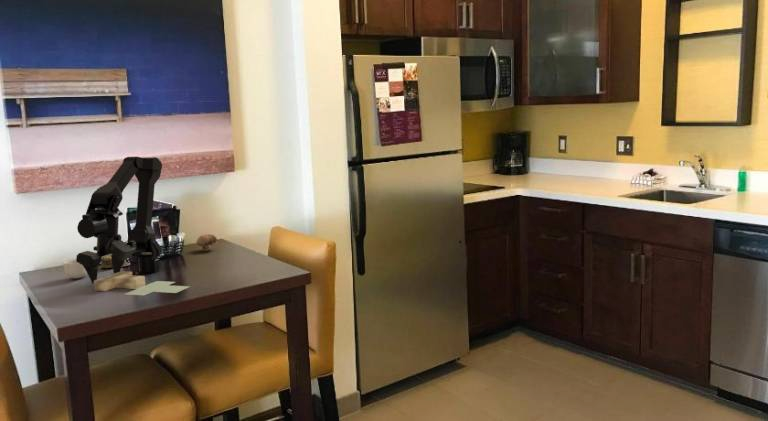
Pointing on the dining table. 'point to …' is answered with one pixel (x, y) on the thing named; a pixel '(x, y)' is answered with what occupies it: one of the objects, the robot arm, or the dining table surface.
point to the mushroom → (206, 241)
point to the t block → (119, 281)
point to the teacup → (74, 269)
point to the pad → (157, 288)
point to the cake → (110, 262)
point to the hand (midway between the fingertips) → (105, 279)
